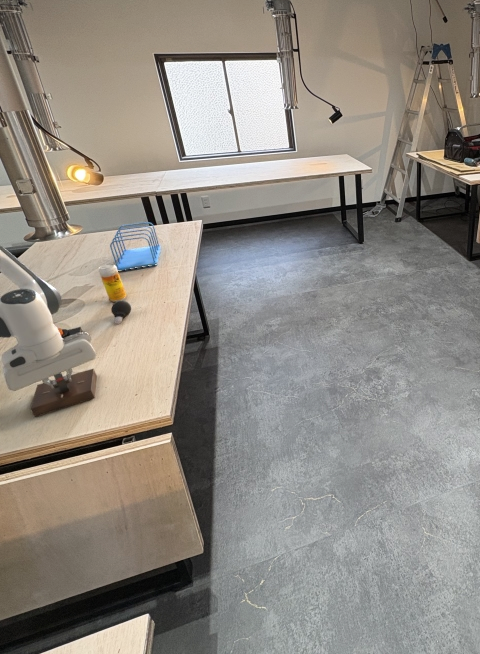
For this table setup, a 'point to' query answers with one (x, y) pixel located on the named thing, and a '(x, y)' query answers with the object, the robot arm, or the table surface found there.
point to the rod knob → (61, 382)
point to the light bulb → (120, 310)
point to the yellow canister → (112, 282)
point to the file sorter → (136, 250)
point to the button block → (71, 332)
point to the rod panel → (54, 399)
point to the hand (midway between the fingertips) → (62, 384)
